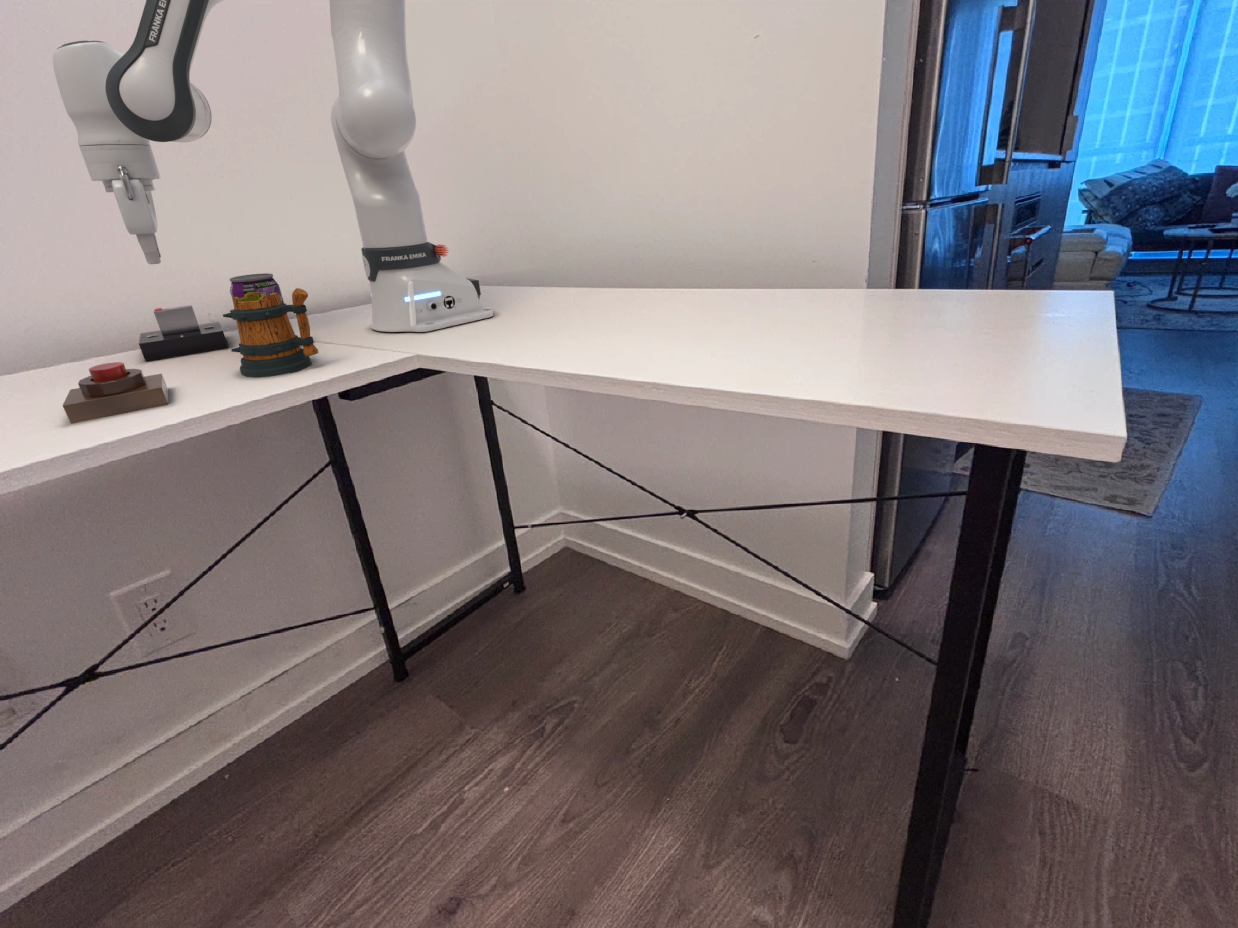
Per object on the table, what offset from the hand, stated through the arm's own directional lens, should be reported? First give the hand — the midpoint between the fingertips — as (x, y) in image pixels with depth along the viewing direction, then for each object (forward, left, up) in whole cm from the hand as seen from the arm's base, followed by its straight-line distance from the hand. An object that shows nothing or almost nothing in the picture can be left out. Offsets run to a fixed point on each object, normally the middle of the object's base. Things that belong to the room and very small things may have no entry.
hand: (155, 261), depth 102 cm
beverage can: (-12, +13, -15) cm, 23 cm away
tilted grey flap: (0, 0, -12) cm, 12 cm away
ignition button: (+8, +31, -11) cm, 34 cm away
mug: (-12, +27, -15) cm, 33 cm away
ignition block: (+8, +31, -15) cm, 35 cm away
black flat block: (0, 0, -15) cm, 15 cm away
